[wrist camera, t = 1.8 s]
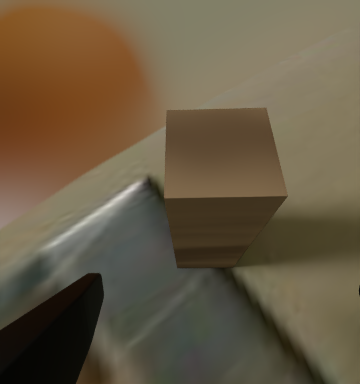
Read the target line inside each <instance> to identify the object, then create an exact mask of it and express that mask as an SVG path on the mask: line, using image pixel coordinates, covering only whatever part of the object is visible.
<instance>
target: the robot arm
mask: <svg viewBox="0 0 360 384" xmlns="http://www.w3.org/2000/svg"><path fill="white" fill-rule="evenodd" d="M359 295H360V287H359ZM103 298H104V291H103V283H102V277H101V274H100V273H88V274H86V275H85V276H83V277H81V278H80V279H78V280H77V281H75V282H74V283H72V284H71V285H69V286H68V287H66V288H64V289H63V290H61V291H60V292H58V293H57V294H55V295H54V296H52V297H51V298H49V299H47V300H46V301H44V302H43V303H41V304H40V305H38V306H37V307H35V308H34V309H32V310H30V311H29V312H27V313H26V314H24V315H23V316H21V317H20V318H18V319H17V320H15V321H13V322H12V323H10V324H9V325H7V326H6V327H4V328H3V329H1V330H0V384H76V382H77V379H78V377H79V374H80V372H81V369H82V366H83V364H84V361H85V359H86V356H87V354H88V351H89V348H90V345H91V342H92V339H93V335H94V332H95V328H96V325H97V321H98V317H99V314H100V310H101V306H102V303H103Z"/></svg>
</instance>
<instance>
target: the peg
mask: <svg viewBox="0 0 360 384" xmlns="http://www.w3.org/2000/svg"><path fill="white" fill-rule="evenodd" d="M287 197H288V195H287V190H286V186H285V182H284V178H283V174H282V170H281V166H280V162H279V158H278V154H277V150H276V146H275V142H274V138H273V133H272V129H271V125H270V121H269V117H268V113H267V109H266V108H241V109H203V110H168V111H167V119H166V152H165V186H164V200H165V206H166V211H167V216H168V221H169V227H170V232H171V237H172V242H173V248H174V253H175V258H176V263H177V268H228V267H233V266H234V265H235V264H236V262H237V261H238V260H239V259H240V257H241V256H242V255H243V253H244V252H245V251H246V250H247V248H248V247H249V246H250V244H251V243H252V242H253V241H254V239H255V238H256V237H257V235H258V234H259V233H260V231H261V230H262V229H263V228H264V226H265V225H266V224H267V222H268V221H269V220H270V219H271V217H272V216H273V215H274V213H275V212H276V211H277V209H278V208H279V207H280V206H281V204H282V203H283V202H284V200H285V199H286V198H287Z"/></svg>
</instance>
